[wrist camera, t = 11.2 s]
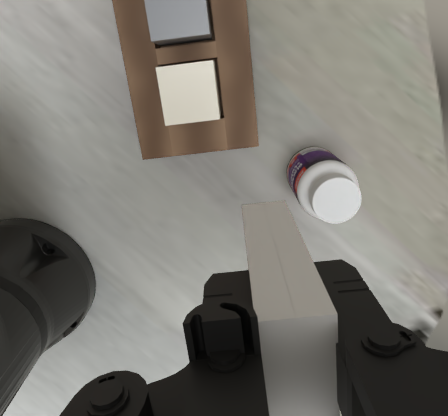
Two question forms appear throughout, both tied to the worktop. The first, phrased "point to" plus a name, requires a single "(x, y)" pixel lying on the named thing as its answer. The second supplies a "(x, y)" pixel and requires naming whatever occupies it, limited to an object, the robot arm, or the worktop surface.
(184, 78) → the cream cube
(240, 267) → the worktop surface
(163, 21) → the slate key
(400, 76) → the worktop surface
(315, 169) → the pill bottle
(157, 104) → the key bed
